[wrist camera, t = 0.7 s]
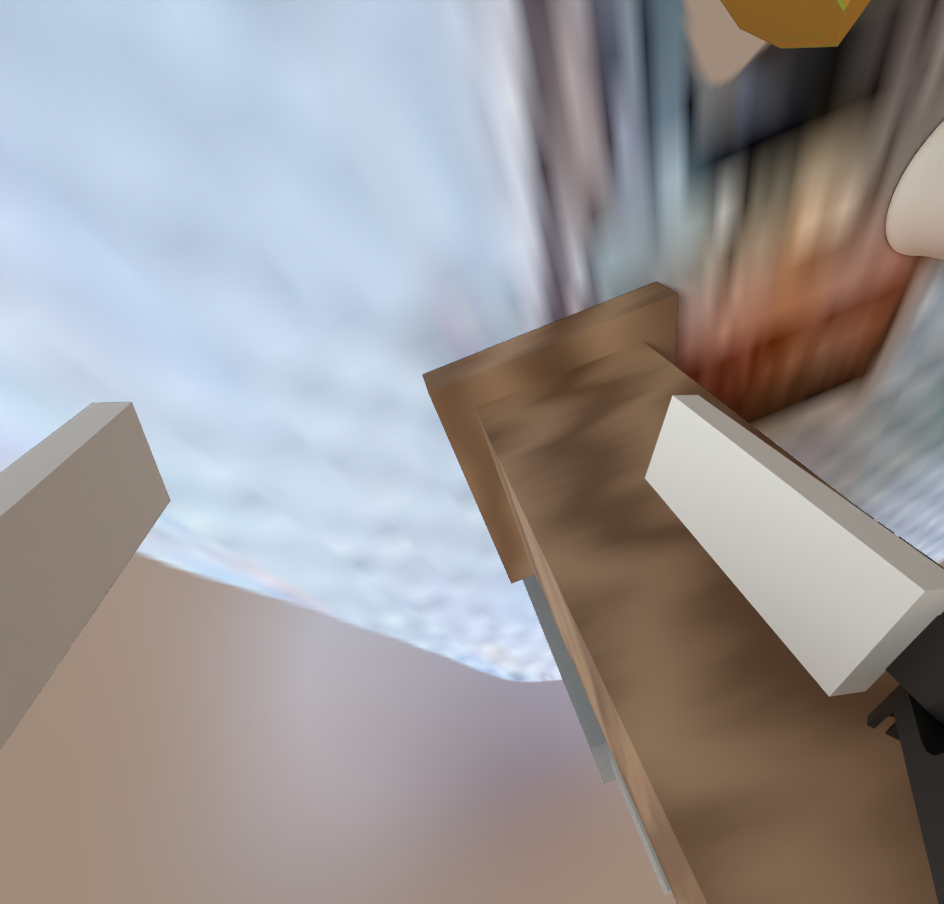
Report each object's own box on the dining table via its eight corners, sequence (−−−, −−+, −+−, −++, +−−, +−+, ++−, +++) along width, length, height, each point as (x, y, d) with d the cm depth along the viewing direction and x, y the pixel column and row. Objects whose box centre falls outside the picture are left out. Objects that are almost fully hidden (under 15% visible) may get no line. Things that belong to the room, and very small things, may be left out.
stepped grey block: (542, 628, 46) (651, 900, 31) (519, 571, 39) (651, 898, 23) (645, 587, 47) (807, 837, 31) (644, 521, 39) (861, 813, 23)
